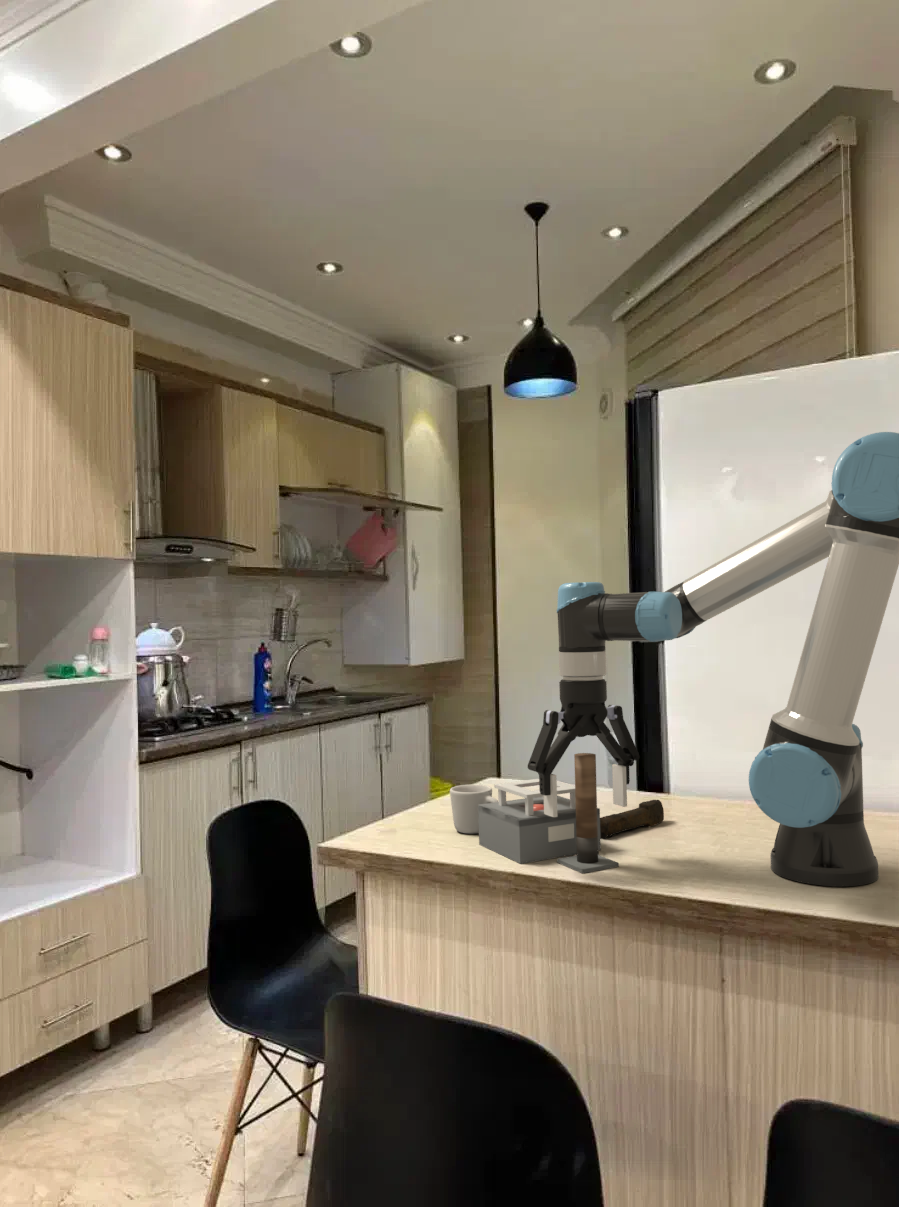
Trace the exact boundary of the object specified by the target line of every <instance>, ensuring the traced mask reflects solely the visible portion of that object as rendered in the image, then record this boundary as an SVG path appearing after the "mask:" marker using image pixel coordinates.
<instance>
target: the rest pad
mask: <svg viewBox="0 0 899 1207" xmlns="http://www.w3.org/2000/svg"><path fill="white" fill-rule="evenodd" d="M556 860H557V862H556V863H557V864H560V865H562V866H564V867H567V868H570V869H572V870H574V871H576V872H578V873H581V874H586V873H591V872H597V871H603V870H607V869H613V868H617V867H618V868H619V866H620V864H619V862H618V861H615V860H612V859H609V858H608V857H605V856H602V855H601V854H598V862H596V863H591V864H586V863H580V862H578V861H577V854H575V855H573V856H572V855H569V856H564V857H558V858H557V859H556Z"/></svg>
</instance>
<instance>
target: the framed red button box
mask: <svg viewBox="0 0 899 1207" xmlns="http://www.w3.org/2000/svg"><path fill="white" fill-rule="evenodd" d="M493 785H494V786H493V788H494V789H497V790H498V792H497V794H498V795H497V796H498V799H497V800H498V802H495V803H488V804H480V805H478V816H479V833H478V843H479V846H482V847H484V848H486V849H488V850H490V851H492V852H495V853H496V854H498V855H501V856H502V857H505V858H507V859H510V860H511V861H514V862H516V863H518V864H520V865H522V864H526V863H532V862H538V861H544V860H550V859H551V860H552V859H554V858H555V859H556V858H563V857H569V856H572V855H573V856H575V855H577V843H576V801H575V784H572V783H571V784H570V783H567V782H562V781H560V780H557V816H558V817H551V816H548V815H546V814H544V810H538V811H533V804H544V795H542V794H540V790H539V789H534V790H531V789H527V788H528V787H534V786H539V778H532V779H525V780H518V781H509V782H502V783H501V782H499V783H495V784H493ZM507 793H508V794H512V795H515V796H518V797H520V798H519V799H512V800H507ZM565 794H569V798H567V797H564V796H560V795H565ZM600 811H601V809H600V808H598V807H597V829H598V851H601V849H602V844H601V843H602V842H601V840H602V839H601V837H600V818H601V812H600Z"/></svg>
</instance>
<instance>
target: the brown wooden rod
mask: <svg viewBox="0 0 899 1207" xmlns="http://www.w3.org/2000/svg"><path fill="white" fill-rule="evenodd" d="M573 756H574V786H575V801H576V843H577V854H576V855H577V861H578V862H580V863H586V864H591V863H596V862H598V855H599V850H598V829H597V808H598V800H597V799H598V798H597V797H598V796H597V795H598V794H597V790H598V789H597V758H596V756H597V754H596V753H591V752H589V753H588V752H580V753H579V752H578V753H575V754H574V755H573Z"/></svg>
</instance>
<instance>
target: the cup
mask: <svg viewBox="0 0 899 1207" xmlns="http://www.w3.org/2000/svg"><path fill="white" fill-rule="evenodd" d="M449 796H450V804H451V811H452V820H453V825H454V828H455V830H456V831H457V832H459V833H463V834H468V835H469V834H471V835H472V834H473V835H474V834H479V816H478V805H480V804H488V803H495V802H499V801H498V799H497V798H495V797H493V788H492V787H491V786H489V785H483V784H460V785H455V786H452V787H451V788H450V790H449Z"/></svg>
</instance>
